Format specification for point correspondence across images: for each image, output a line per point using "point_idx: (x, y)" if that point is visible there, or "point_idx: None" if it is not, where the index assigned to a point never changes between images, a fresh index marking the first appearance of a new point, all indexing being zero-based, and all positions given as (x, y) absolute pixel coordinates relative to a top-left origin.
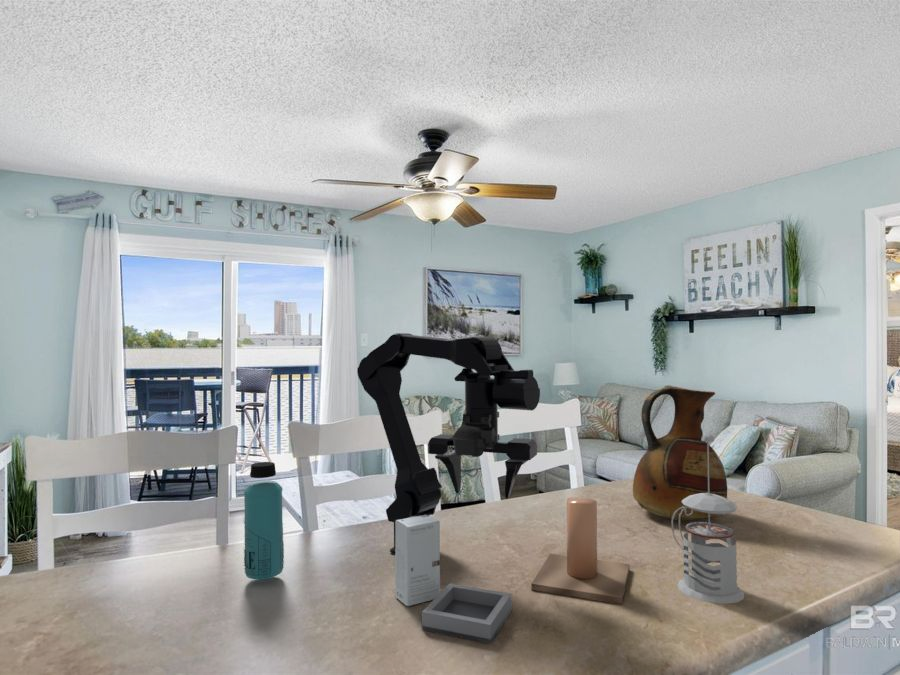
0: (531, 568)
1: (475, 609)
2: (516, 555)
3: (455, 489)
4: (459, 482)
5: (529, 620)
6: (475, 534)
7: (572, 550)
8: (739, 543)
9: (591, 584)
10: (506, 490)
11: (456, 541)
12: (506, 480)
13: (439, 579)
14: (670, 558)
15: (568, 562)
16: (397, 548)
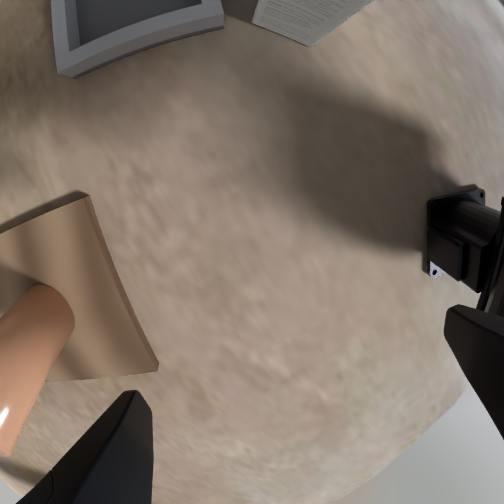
0: (158, 301)
1: (131, 13)
2: (232, 344)
3: (473, 311)
4: (478, 366)
5: (35, 76)
6: (370, 377)
7: (17, 316)
8: (42, 469)
9: (10, 273)
10: (108, 421)
11: (393, 328)
12: (78, 474)
13: (256, 7)
14: (43, 425)
15: (45, 305)
16: None
